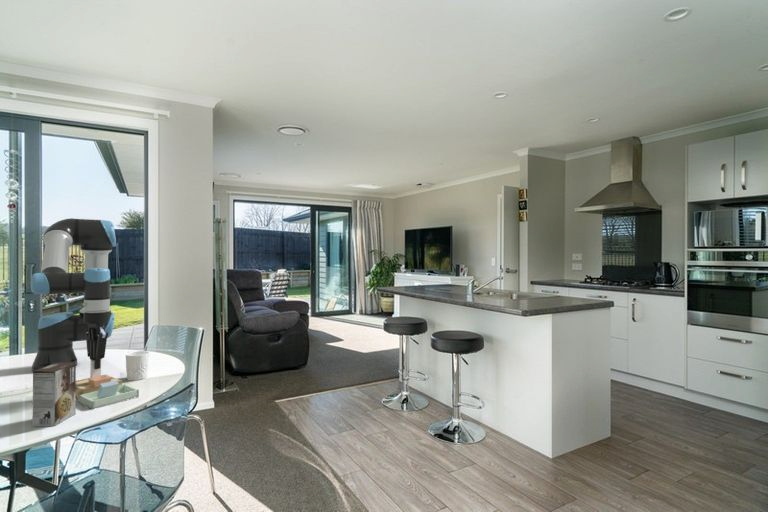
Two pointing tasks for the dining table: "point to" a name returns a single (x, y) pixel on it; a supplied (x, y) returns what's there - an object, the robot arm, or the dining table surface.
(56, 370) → the cookie box
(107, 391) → the tile
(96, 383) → the tile
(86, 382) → the tan square panel
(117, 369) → the dining table surface
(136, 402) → the dining table surface
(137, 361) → the white cup
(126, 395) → the tray
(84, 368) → the dining table surface
